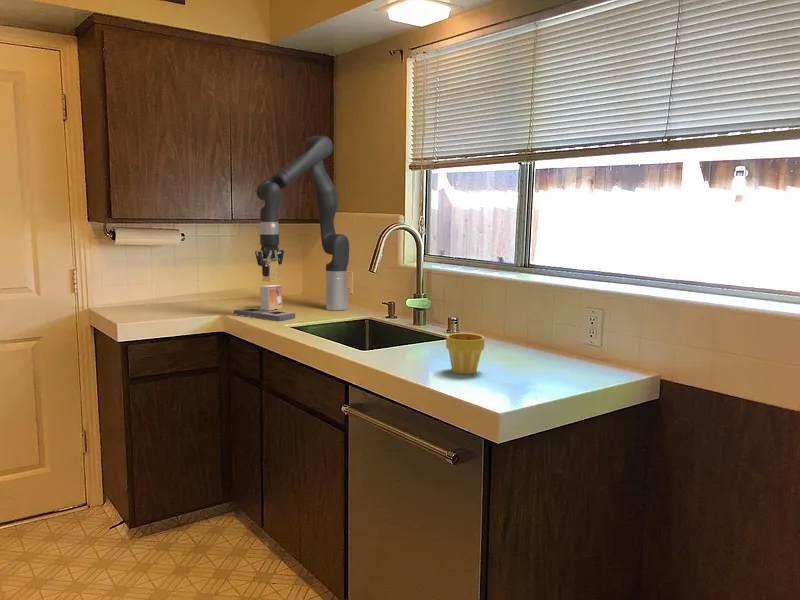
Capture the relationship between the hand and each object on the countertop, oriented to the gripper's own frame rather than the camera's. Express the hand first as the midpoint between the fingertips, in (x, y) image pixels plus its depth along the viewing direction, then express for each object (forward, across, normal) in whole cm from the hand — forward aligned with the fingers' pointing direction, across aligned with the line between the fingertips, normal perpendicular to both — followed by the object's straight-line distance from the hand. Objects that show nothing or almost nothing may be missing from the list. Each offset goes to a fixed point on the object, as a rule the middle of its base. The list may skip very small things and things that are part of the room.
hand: (270, 275), depth 260 cm
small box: (+17, +15, +16) cm, 28 cm away
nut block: (+2, 0, 0) cm, 2 cm away
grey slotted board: (+17, 0, +4) cm, 17 cm away
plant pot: (+17, -29, -107) cm, 113 cm away
